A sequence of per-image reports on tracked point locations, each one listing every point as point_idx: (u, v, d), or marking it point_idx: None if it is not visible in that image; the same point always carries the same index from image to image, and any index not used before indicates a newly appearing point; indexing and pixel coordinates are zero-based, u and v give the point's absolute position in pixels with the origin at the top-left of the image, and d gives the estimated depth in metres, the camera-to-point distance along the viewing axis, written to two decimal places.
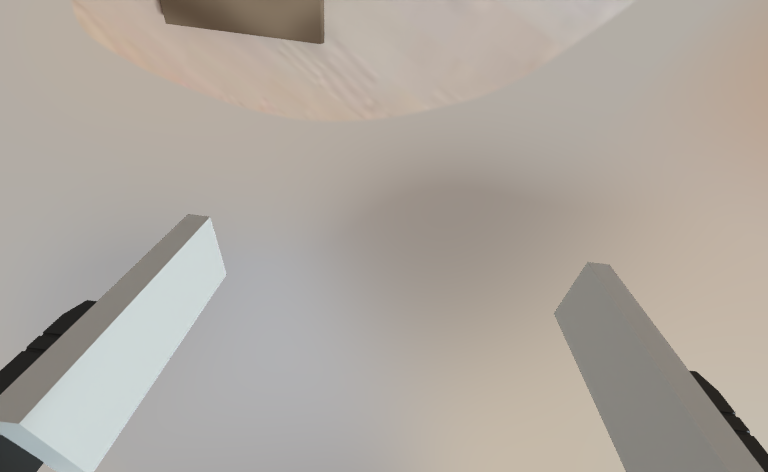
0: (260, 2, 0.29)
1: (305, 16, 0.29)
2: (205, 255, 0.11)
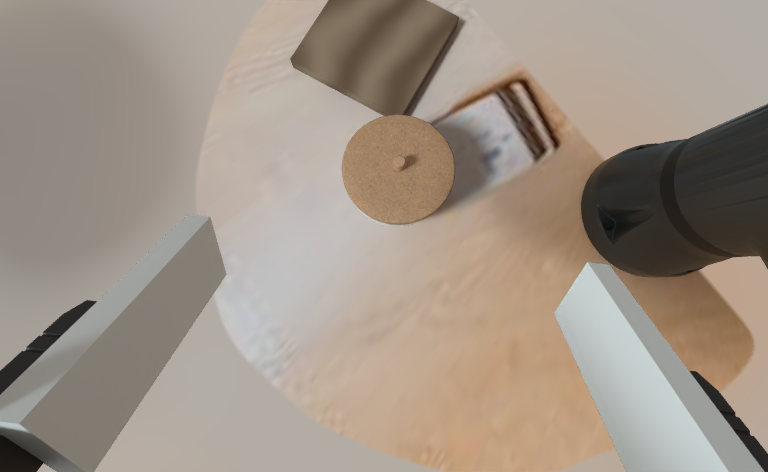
0: (332, 32, 0.38)
1: (310, 57, 0.38)
2: (205, 255, 0.11)
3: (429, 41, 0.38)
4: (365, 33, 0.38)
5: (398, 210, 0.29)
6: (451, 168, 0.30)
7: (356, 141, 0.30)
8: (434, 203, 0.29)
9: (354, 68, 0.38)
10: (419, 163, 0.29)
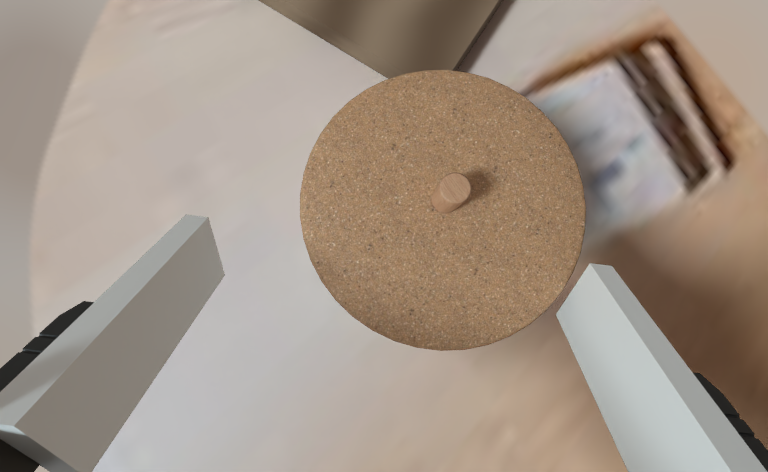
0: None
1: None
2: (203, 256, 0.11)
3: None
4: None
5: (441, 315, 0.11)
6: (579, 211, 0.12)
7: (341, 129, 0.12)
8: (535, 301, 0.11)
9: None
10: (498, 195, 0.12)
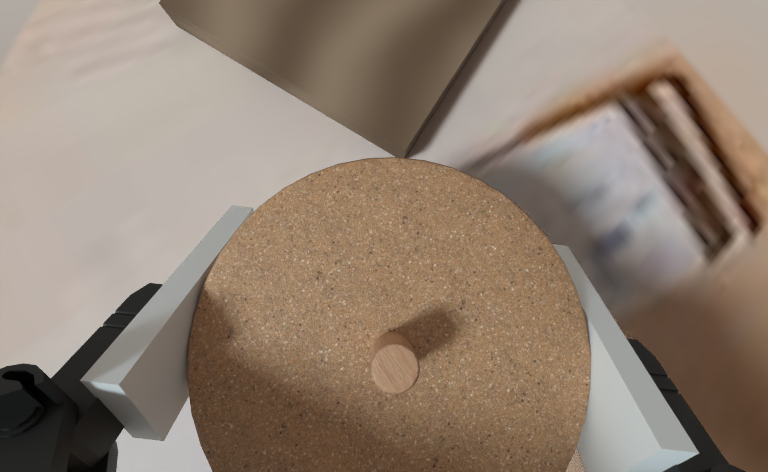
0: None
1: (206, 1, 0.16)
2: None
3: None
4: None
5: None
6: (581, 361, 0.08)
7: (246, 249, 0.08)
8: None
9: (305, 30, 0.16)
10: (467, 343, 0.08)
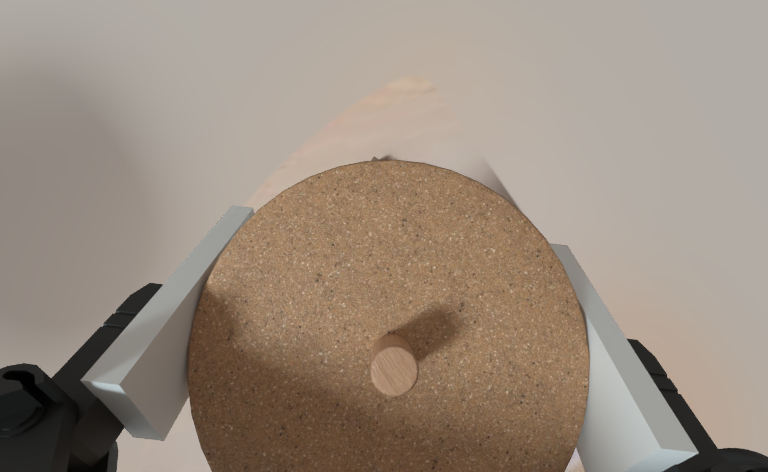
0: None
1: None
2: None
3: None
4: None
5: None
6: (580, 363, 0.08)
7: (246, 252, 0.08)
8: None
9: None
10: (465, 345, 0.08)
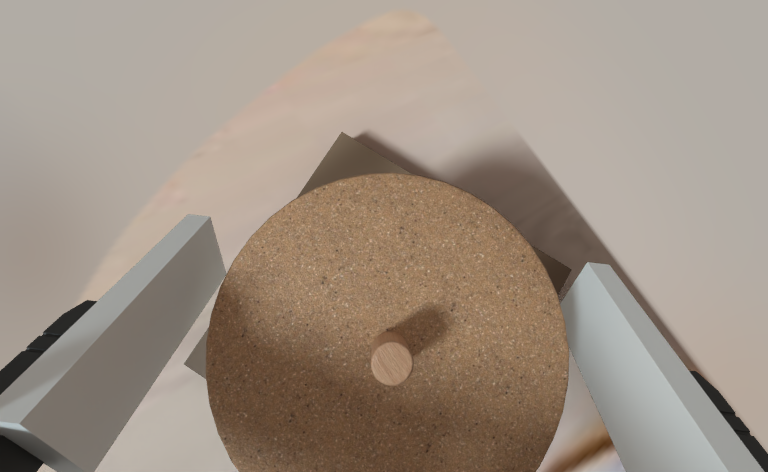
0: None
1: None
2: (205, 255, 0.11)
3: None
4: None
5: None
6: (560, 358, 0.09)
7: (258, 257, 0.09)
8: None
9: None
10: (457, 342, 0.09)
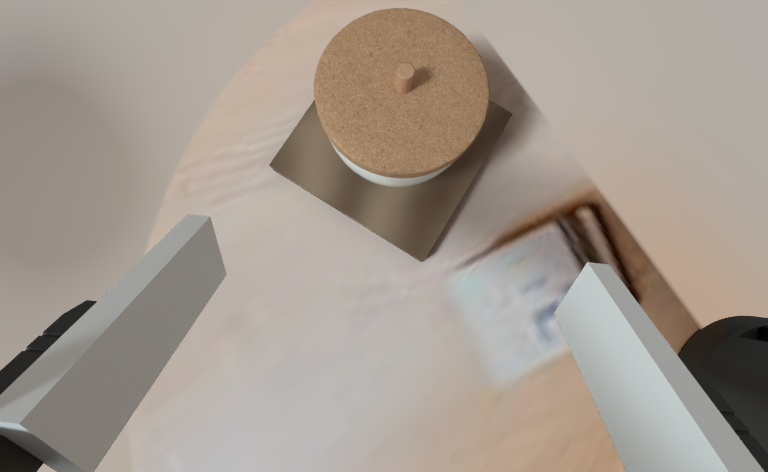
0: None
1: (298, 164, 0.26)
2: (205, 255, 0.11)
3: (469, 148, 0.27)
4: None
5: (400, 153, 0.18)
6: (484, 93, 0.19)
7: (338, 44, 0.19)
8: (456, 145, 0.19)
9: (361, 183, 0.26)
10: (435, 83, 0.19)
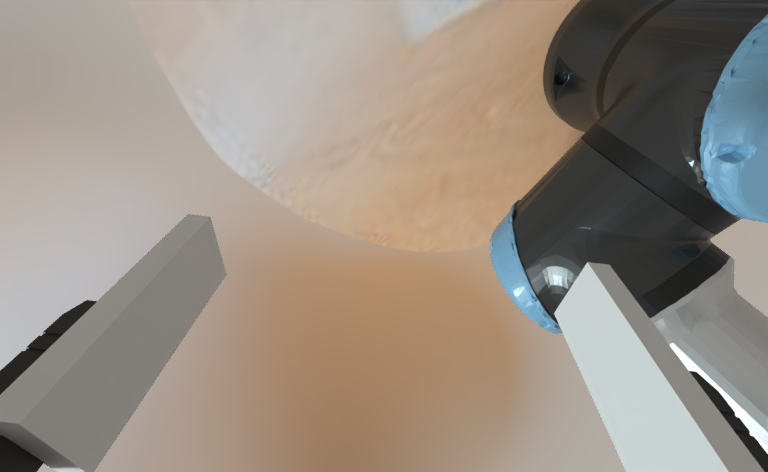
0: None
1: None
2: (205, 255, 0.11)
3: None
4: None
5: None
6: None
7: None
8: None
9: None
10: None
